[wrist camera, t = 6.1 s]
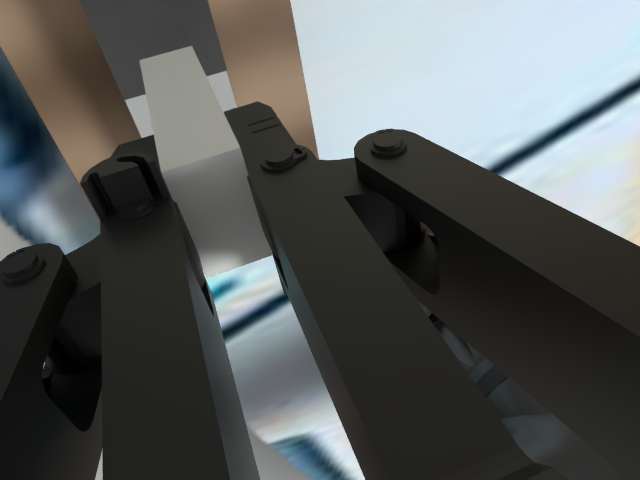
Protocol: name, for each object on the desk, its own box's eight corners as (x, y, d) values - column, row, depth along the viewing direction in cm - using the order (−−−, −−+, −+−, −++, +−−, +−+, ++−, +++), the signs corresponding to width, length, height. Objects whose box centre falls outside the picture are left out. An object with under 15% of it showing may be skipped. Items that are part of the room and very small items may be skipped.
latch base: (313, 190, 33) (344, 239, 29) (132, 251, 31) (138, 312, 27) (216, -295, 19) (251, -330, 15) (-132, -234, 17) (-203, -256, 13)
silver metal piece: (269, 231, 30) (277, 250, 29) (197, 256, 29) (202, 276, 28) (162, -143, 18) (168, -138, 17) (34, -115, 17) (31, -108, 16)
